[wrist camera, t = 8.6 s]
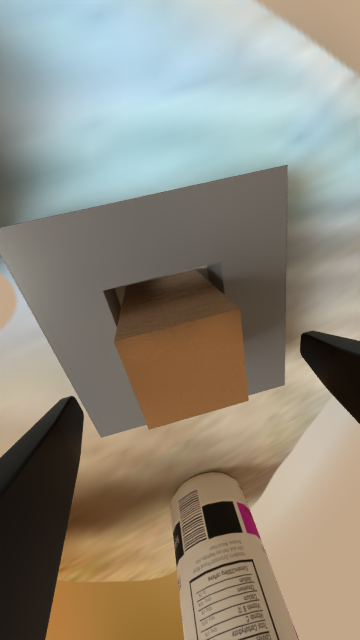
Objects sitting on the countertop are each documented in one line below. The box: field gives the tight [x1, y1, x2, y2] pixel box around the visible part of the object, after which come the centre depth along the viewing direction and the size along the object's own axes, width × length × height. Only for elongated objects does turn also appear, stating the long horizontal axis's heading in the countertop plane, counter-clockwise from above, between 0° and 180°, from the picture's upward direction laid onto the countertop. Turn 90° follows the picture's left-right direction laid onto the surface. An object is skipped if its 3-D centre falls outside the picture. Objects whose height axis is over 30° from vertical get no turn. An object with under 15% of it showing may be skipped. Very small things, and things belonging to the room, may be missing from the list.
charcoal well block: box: [0, 165, 287, 437], centre depth 14 cm, size 13×13×4 cm
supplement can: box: [170, 472, 299, 640], centre depth 19 cm, size 8×8×15 cm
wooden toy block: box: [114, 269, 249, 429], centre depth 12 cm, size 4×4×7 cm
